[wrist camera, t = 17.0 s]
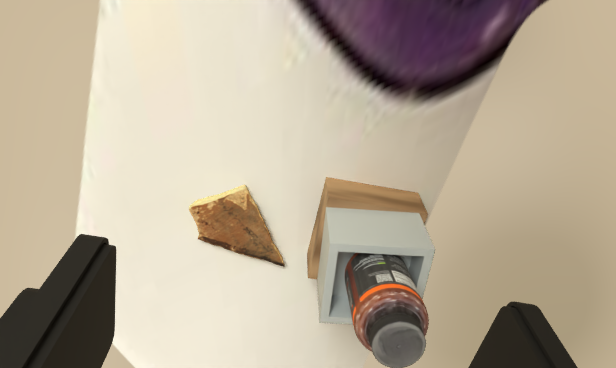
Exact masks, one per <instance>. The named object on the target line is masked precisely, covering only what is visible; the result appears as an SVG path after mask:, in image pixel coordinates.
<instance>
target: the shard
mask: <svg viewBox="0 0 616 368" xmlns="http://www.w3.org/2000/svg"><path fill="white" fill-rule="evenodd" d="M189 211H190V213H191V215H192V216H193V218H194V220H195V222H196V225H197V227H198V232H199V236H198V239H199V240H202V241H204V242H208V243H210V244H212V245H216V246H221V247H223V248H225V249H228V250H231V251H234V252H236V253H239V254H244V255H246V256H250V257H254V258H258V259H262V260H266V261H269V262H272V263H274V264H277V265H280V266H283V267H284V263H283V258H282V256H281V255H280V253H279V251H278V249H277V247H276V246H275V244H274V243H273V242H272V240H271V237H270V233H269V231H268V229H267V227H266V226H265V223H264V220H263V218H262V217H261V215H260V212H259V210H258V207H257V205H256V204H255V202H254V200H253V199H252V198H251V195H250V193H249V191H248V190H247V187H246V186H245V185H242V186H239V187H237V188H234V189H231V190H229V191H226V192H224V193H221V194H219V195H214V196H209V197H206V198H203V199H198V200H197V201H195V202H194V203H193V204H191V205H190V206H189Z"/></svg>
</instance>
